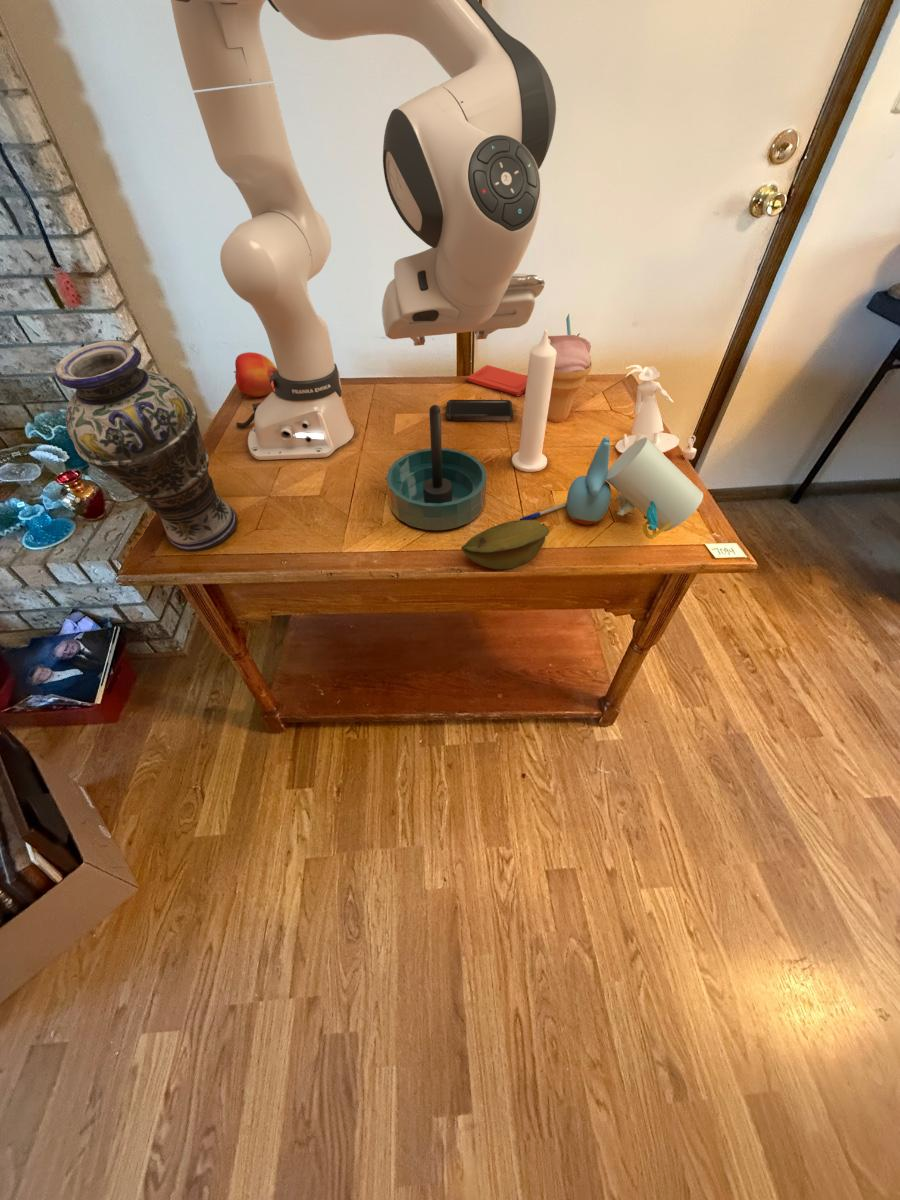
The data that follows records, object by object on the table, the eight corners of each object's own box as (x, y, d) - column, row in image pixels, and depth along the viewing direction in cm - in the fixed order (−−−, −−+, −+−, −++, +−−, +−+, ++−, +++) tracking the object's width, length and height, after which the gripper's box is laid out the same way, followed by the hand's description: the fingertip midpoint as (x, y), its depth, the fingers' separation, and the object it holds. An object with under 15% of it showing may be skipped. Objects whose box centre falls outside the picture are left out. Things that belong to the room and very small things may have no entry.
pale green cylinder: (580, 515, 80) (638, 568, 82) (636, 472, 71) (699, 532, 73) (605, 457, 93) (654, 505, 95) (655, 414, 84) (708, 467, 86)
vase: (171, 580, 80) (38, 417, 55) (139, 520, 88) (10, 356, 64) (265, 532, 85) (181, 364, 61) (227, 480, 93) (139, 314, 69)
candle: (517, 474, 97) (532, 340, 78) (507, 455, 102) (519, 324, 83) (551, 469, 98) (574, 336, 79) (540, 451, 103) (559, 320, 84)
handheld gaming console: (537, 383, 123) (487, 368, 129) (537, 378, 122) (487, 364, 128) (518, 397, 118) (467, 381, 124) (518, 392, 117) (467, 377, 123)
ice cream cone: (524, 410, 114) (534, 315, 99) (567, 402, 116) (583, 309, 101) (545, 433, 107) (559, 335, 92) (589, 425, 109) (610, 328, 94)
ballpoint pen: (518, 517, 87) (518, 522, 88) (520, 519, 86) (520, 524, 87) (567, 501, 90) (567, 506, 91) (570, 503, 89) (570, 508, 90)
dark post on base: (427, 509, 89) (422, 415, 75) (421, 493, 92) (415, 399, 79) (455, 505, 90) (455, 411, 76) (448, 488, 93) (446, 395, 79)
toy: (629, 429, 80) (602, 505, 91) (585, 422, 81) (564, 498, 92) (630, 460, 73) (601, 539, 84) (582, 452, 74) (560, 531, 85)
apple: (282, 353, 114) (236, 346, 109) (284, 397, 117) (239, 392, 112) (272, 358, 122) (228, 351, 117) (274, 399, 125) (231, 395, 120)
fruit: (531, 588, 77) (535, 557, 72) (460, 569, 80) (458, 539, 75) (550, 541, 84) (554, 510, 79) (483, 526, 87) (483, 496, 82)
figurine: (692, 447, 104) (701, 344, 93) (700, 472, 95) (710, 361, 84) (615, 455, 109) (614, 358, 98) (615, 478, 100) (613, 375, 89)
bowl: (399, 541, 84) (396, 513, 80) (383, 482, 96) (379, 455, 91) (497, 524, 87) (499, 496, 83) (470, 469, 99) (470, 442, 94)
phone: (447, 399, 115) (511, 399, 115) (447, 404, 116) (511, 404, 116) (446, 416, 110) (513, 416, 110) (446, 421, 111) (512, 421, 111)
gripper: (545, 249, 61) (512, 309, 74) (381, 261, 57) (377, 321, 71) (553, 302, 61) (519, 352, 75) (390, 316, 58) (385, 366, 72)
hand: (449, 337), depth 73 cm, fingers open, 8 cm apart
